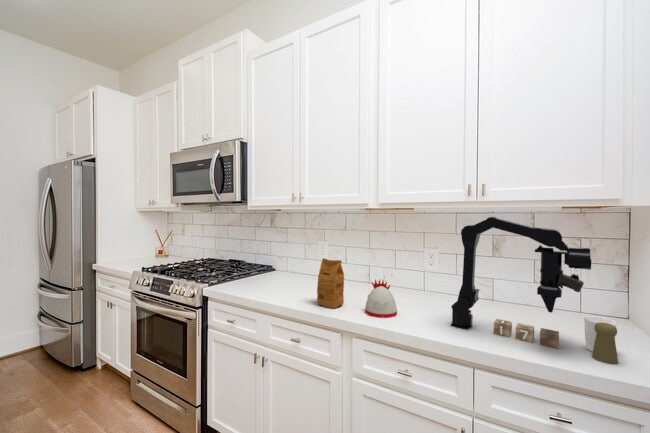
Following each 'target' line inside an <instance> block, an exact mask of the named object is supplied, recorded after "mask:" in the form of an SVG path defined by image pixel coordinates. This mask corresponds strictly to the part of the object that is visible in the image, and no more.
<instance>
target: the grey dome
mask: <svg viewBox="0 0 650 433" xmlns="http://www.w3.org/2000/svg"><path fill="white" fill-rule="evenodd" d="M387 284H388V282H387V281H386V282H385V281H384V279H382V281H381V279H380V278H379V280H378V282H377V279H376V278H375V279H374V282H373V281H371V285H372V286H373V289H372V290H371V292H370V293H369V294H368V295H367V299H366V302H365V309H364V313H365V315H367V316H370V317H373V318H377V319H379V318H380V319H387V318H388V319H389V318H394V317H396V316H397V314H398V309H397V303H396V300H395V297H394V295H393V293H392V292H391V290H390V287H391V284H389V285H388V286H387Z"/></svg>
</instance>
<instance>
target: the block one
mask: <svg viewBox="0 0 650 433" xmlns="http://www.w3.org/2000/svg"><path fill="white" fill-rule="evenodd" d="M512 325H513V321H511V320H503V319H501V318H500V319H499V318H496V319H495V320H494V321H493V335H495V336H499V337H505V338H508V339H509V338H510V337H511V336H512V332H513V330H512V329H513V326H512Z"/></svg>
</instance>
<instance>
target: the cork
mask: <svg viewBox="0 0 650 433" xmlns="http://www.w3.org/2000/svg"><path fill="white" fill-rule="evenodd" d="M594 329H595V331H596V333H597V334H596V339H595V344H594V349H593V352H592V354H591V357H592V358H593V359H594V361H595V360H596V361H598V362H600V363H603V364H604V363H605V364H608V365H609V364H610V365H618V364H619V357H618V351H617V345H616V336H617V335H618V329H617V326H616V327H615V326H613V325H611V324H608V323H602V322H599V323H596V324H595V326H594Z"/></svg>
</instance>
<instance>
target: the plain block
mask: <svg viewBox="0 0 650 433" xmlns="http://www.w3.org/2000/svg"><path fill="white" fill-rule="evenodd" d="M559 341H560V331H558V330H553V329H548V328H543V327H541V328H540V330H539V346H543V347H547V348H551V349H556V350H559V345H560V342H559Z"/></svg>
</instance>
